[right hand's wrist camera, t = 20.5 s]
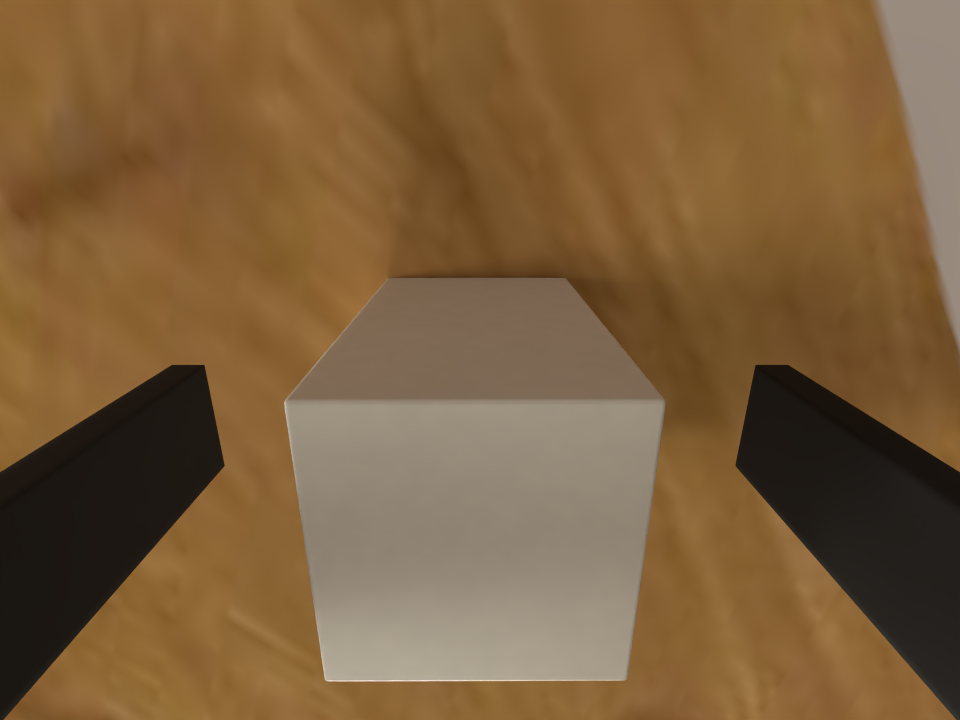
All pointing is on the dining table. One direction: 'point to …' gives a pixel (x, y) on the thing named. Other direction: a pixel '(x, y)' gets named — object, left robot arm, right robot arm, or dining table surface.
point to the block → (475, 485)
